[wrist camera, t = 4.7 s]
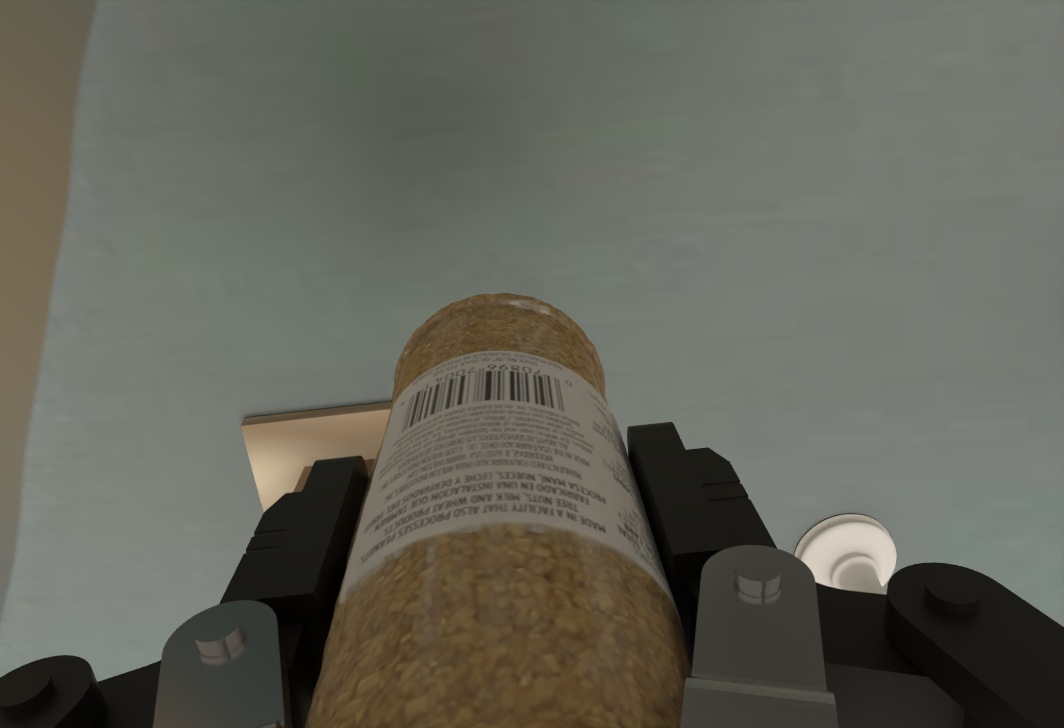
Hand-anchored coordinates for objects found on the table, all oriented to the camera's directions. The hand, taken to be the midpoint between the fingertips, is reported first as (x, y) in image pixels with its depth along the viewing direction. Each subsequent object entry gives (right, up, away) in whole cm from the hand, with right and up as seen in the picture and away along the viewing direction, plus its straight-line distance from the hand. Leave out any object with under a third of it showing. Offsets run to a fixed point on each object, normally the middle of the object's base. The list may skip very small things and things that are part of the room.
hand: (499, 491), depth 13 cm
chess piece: (+16, -7, +26) cm, 31 cm away
